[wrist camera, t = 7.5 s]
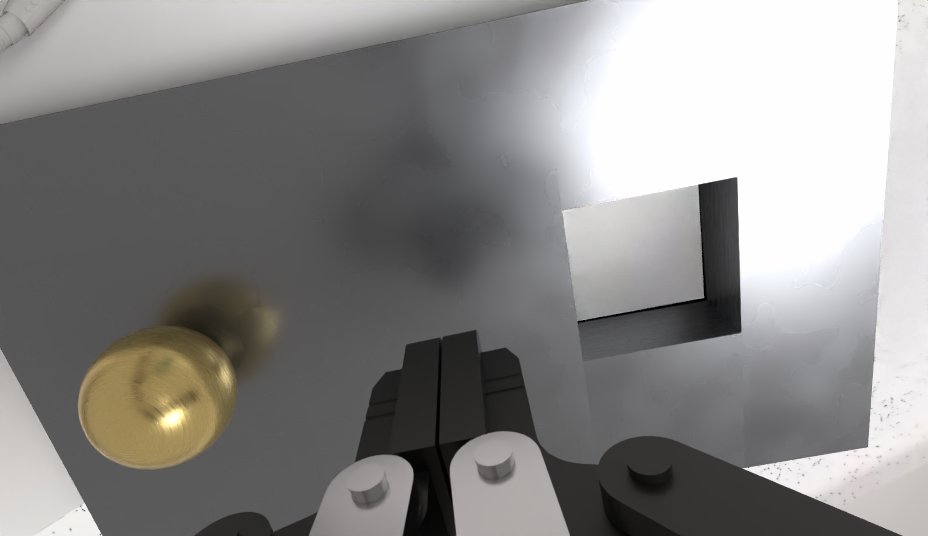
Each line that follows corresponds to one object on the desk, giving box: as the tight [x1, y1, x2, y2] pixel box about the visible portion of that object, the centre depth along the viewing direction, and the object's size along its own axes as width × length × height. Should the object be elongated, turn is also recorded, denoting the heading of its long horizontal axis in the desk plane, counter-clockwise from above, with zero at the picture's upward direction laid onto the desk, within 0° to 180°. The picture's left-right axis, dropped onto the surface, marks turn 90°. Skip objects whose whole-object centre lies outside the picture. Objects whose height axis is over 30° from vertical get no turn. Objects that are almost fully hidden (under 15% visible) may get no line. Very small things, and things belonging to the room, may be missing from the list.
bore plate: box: [0, 0, 898, 536], centre depth 17 cm, size 14×24×2 cm, turn 101°
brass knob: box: [78, 326, 238, 470], centre depth 14 cm, size 4×4×4 cm
